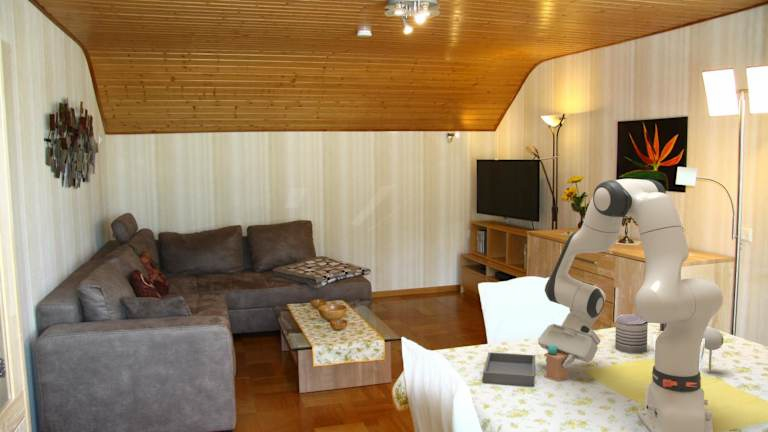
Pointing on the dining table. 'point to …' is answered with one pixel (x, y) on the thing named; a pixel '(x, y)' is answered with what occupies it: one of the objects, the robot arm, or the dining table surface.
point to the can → (631, 334)
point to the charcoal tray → (509, 369)
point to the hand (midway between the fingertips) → (555, 364)
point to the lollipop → (712, 342)
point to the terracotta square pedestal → (556, 366)
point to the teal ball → (552, 349)
